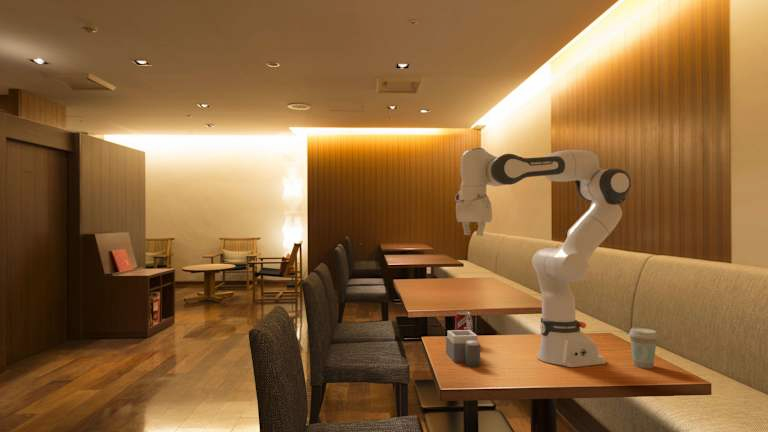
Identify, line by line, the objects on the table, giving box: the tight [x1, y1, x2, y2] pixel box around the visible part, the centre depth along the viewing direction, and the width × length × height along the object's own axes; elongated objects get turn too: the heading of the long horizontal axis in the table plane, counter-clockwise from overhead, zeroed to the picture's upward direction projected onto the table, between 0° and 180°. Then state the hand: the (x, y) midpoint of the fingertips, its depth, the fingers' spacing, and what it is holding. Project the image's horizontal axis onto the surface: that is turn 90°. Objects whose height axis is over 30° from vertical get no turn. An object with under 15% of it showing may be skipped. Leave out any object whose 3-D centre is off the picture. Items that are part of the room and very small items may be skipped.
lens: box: [464, 340, 481, 368], centre depth 159 cm, size 5×5×8 cm
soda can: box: [454, 310, 474, 332], centre depth 187 cm, size 7×7×12 cm
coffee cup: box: [628, 327, 659, 369], centre depth 158 cm, size 8×8×12 cm
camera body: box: [445, 329, 478, 363], centre depth 168 cm, size 9×11×8 cm
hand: (473, 235), depth 162 cm, fingers open, 8 cm apart
